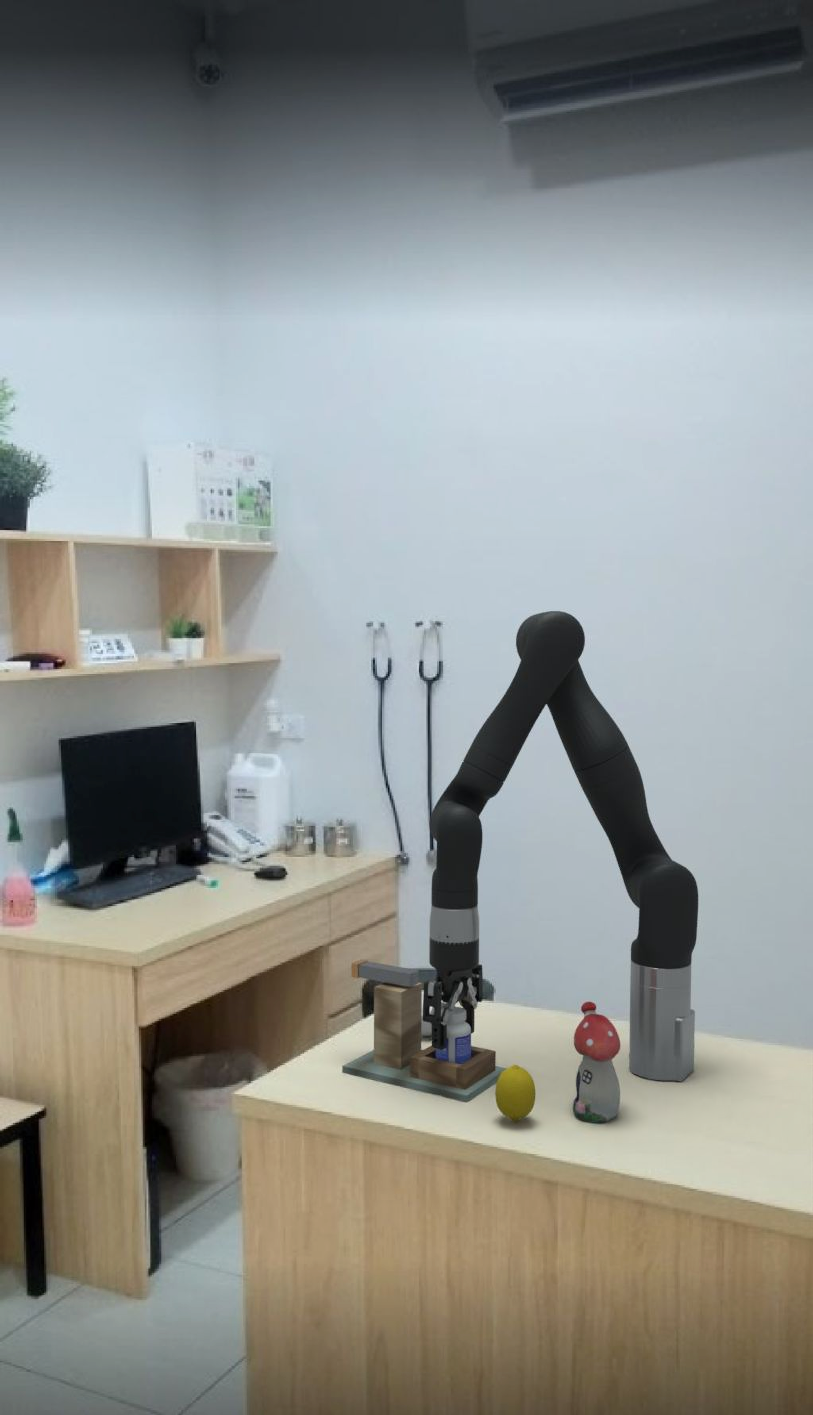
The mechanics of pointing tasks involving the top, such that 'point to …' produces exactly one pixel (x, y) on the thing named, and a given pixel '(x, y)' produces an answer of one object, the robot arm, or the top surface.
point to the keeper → (385, 973)
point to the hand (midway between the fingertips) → (453, 1040)
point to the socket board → (418, 1051)
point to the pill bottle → (456, 1038)
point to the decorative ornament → (596, 1067)
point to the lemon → (515, 1093)
